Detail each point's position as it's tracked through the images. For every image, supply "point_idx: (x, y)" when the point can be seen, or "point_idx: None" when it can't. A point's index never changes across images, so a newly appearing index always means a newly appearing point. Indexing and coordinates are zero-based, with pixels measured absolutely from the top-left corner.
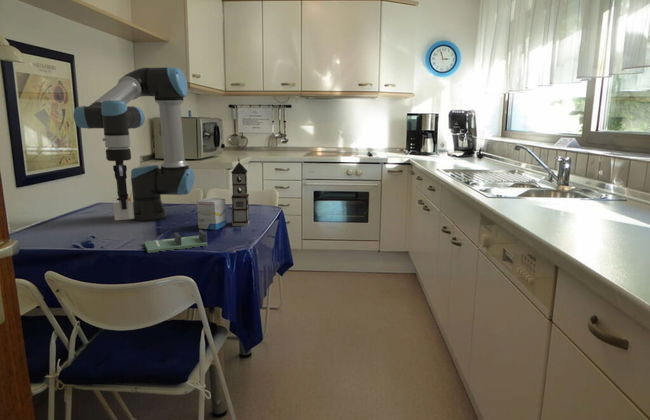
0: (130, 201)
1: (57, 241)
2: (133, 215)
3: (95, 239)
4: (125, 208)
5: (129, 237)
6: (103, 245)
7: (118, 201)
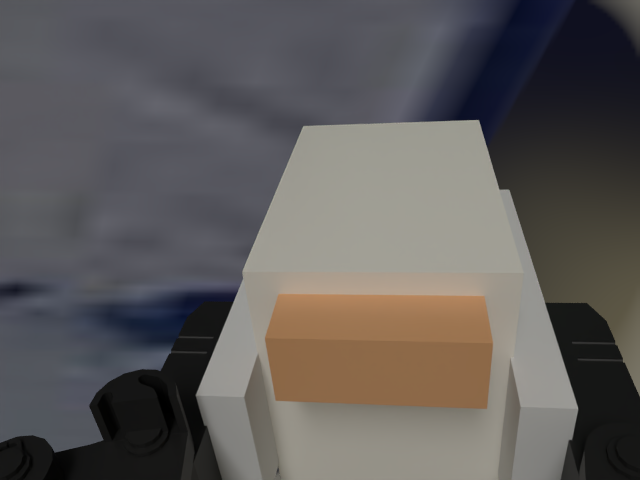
0: (505, 313)
1: (85, 433)
2: (481, 145)
3: (68, 283)
4: (595, 329)
5: (37, 72)
6: (233, 245)
7: (398, 470)
